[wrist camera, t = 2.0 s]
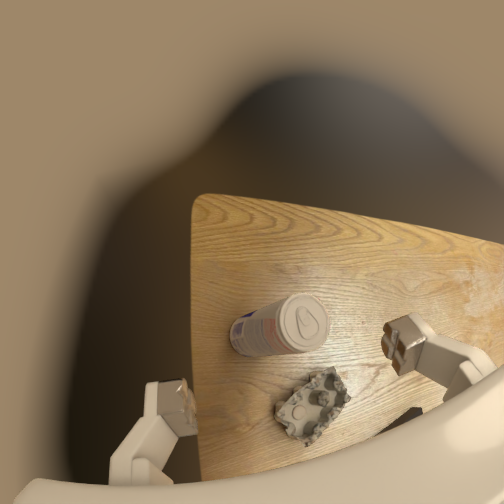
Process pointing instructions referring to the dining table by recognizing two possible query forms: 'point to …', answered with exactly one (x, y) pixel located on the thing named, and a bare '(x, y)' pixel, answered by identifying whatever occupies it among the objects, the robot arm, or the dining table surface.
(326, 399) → the egg carton
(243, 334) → the beverage can
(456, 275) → the dining table surface
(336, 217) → the dining table surface
